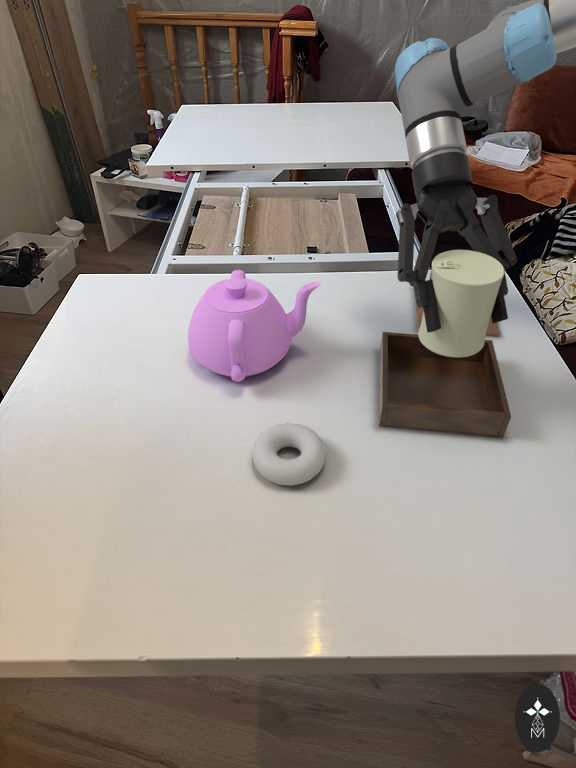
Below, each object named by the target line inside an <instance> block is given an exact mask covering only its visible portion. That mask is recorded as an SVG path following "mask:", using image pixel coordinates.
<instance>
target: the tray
mask: <svg viewBox="0 0 576 768" xmlns="http://www.w3.org/2000/svg"><path fill="white" fill-rule="evenodd" d="M378 383H379V384H378V385H379V387H378V388H379V389H378V390H379V391H378V392H379V393H378V394H379V395H378V399H379V400H378V427H381V428H389V429H390V428H391V429H402V430H410V431H411V430H412V431H423V432H432V433H433V432H434V433H444V434H454V435H466V436H475V437H485V438H496V439H504V437H505V433H506V431H507V430H508V426H509V424H510V422H511V419H512V414H511V411H510V410H511V409H510V407H509V402H508V398H507V393H506V390H505V386H504V382H503V377H502V373H501V370H500V366H499V362H498V358H497V354H496V350H495V345H494V342H493V340H492V339H484V346H483V348H482V349H481V350H480V351H479V352H478V353H476V354H474V355H471V356H468V357H447V356H443V355H440V354H437V353H435V352H433V351H431V350H429V349H428V348H426V347H425V346H424V345H423V344H422V343H421V341H420V339H419V336H418V333H417V334H416V333H406V332H405V333H404V332H392V331H382V334H381V341H380V348H379V382H378Z"/></svg>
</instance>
